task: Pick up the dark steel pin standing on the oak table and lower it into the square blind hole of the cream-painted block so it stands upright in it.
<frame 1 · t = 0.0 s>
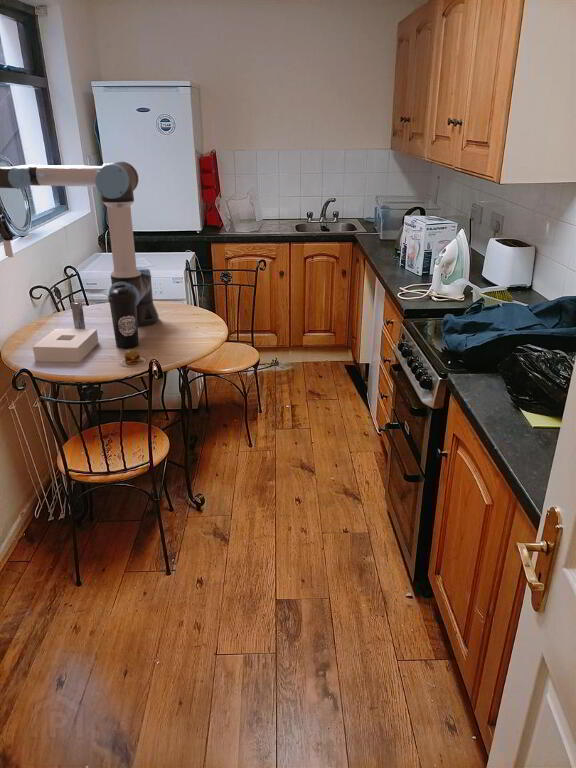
hand: (1, 260, 220), 28 cm above the table, fingers open, 13 cm apart
socket block: (68, 351, 208), on the table
water bottle: (127, 345, 215), on the table
steel pin: (81, 337, 223), on the table
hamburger: (133, 364, 200), on the table
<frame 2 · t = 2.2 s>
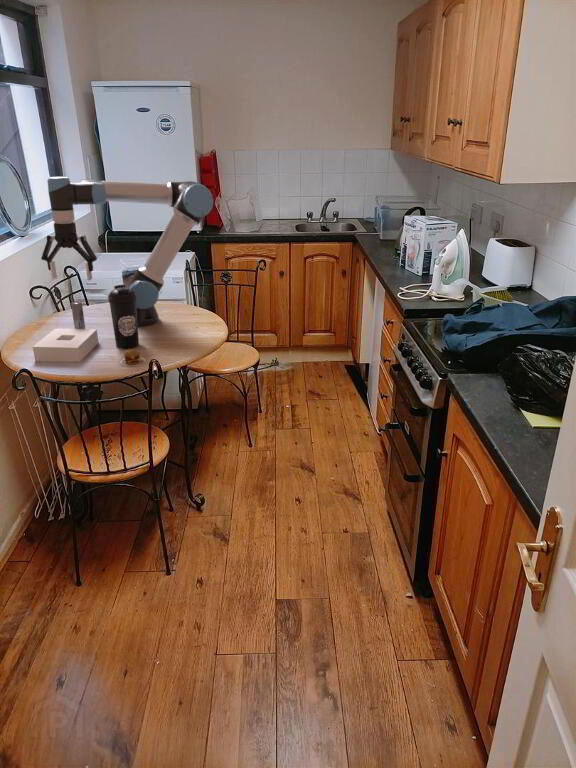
hand: (72, 279, 213), 23 cm above the table, fingers open, 13 cm apart
nothing on the table moved.
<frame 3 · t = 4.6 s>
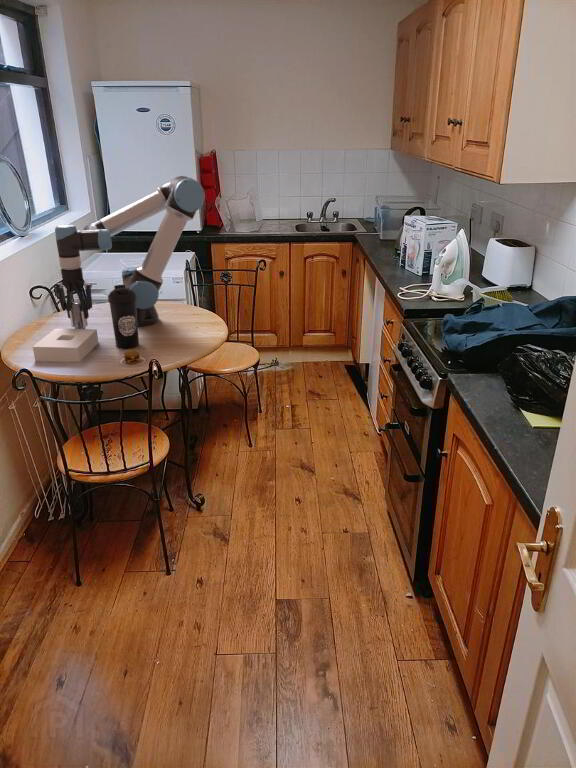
hand: (79, 326, 221), 5 cm above the table, fingers closed on steel pin, 4 cm apart
steel pin: (81, 337, 223), on the table, touching gripper
everything else where it was.
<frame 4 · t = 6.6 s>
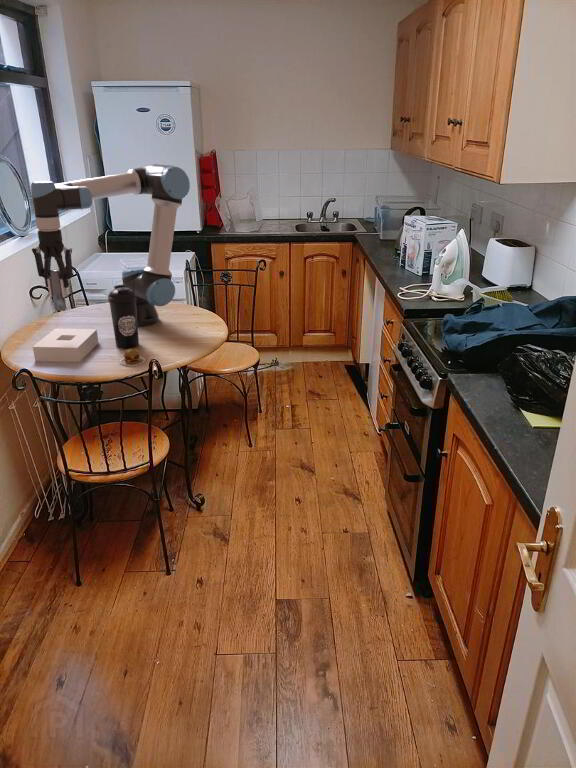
hand: (58, 296, 200), 21 cm above the table, fingers closed on steel pin, 4 cm apart
steel pin: (60, 309, 202), point 16 cm above the table, touching gripper
everything else where it was.
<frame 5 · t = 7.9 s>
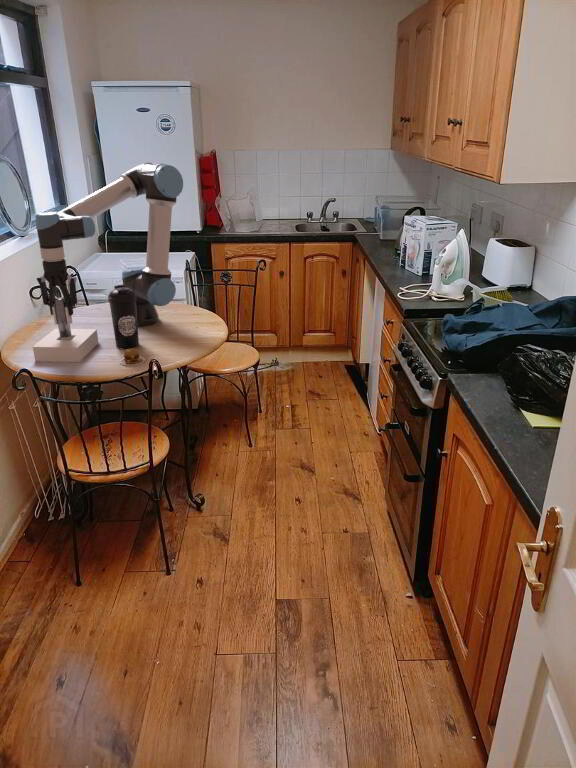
hand: (63, 323, 204), 11 cm above the table, fingers closed on steel pin, 4 cm apart
steel pin: (65, 335, 206), point 6 cm above the table, touching gripper
everything else where it was.
when the fingers open (8 cm above the table, at t = 8.8 s): steel pin stays where it is, resting on socket block.
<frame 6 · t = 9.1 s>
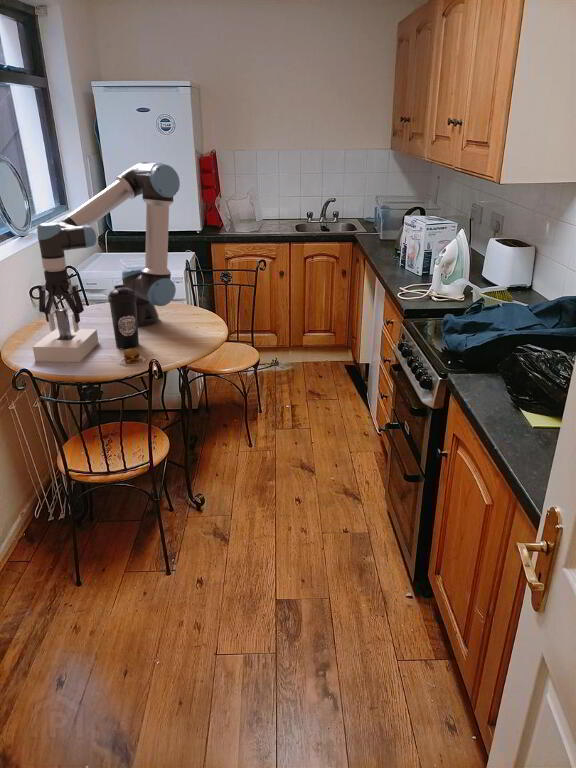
hand: (64, 330, 205), 8 cm above the table, fingers open, 8 cm apart
steel pin: (67, 346, 207), point 2 cm above the table, touching socket block
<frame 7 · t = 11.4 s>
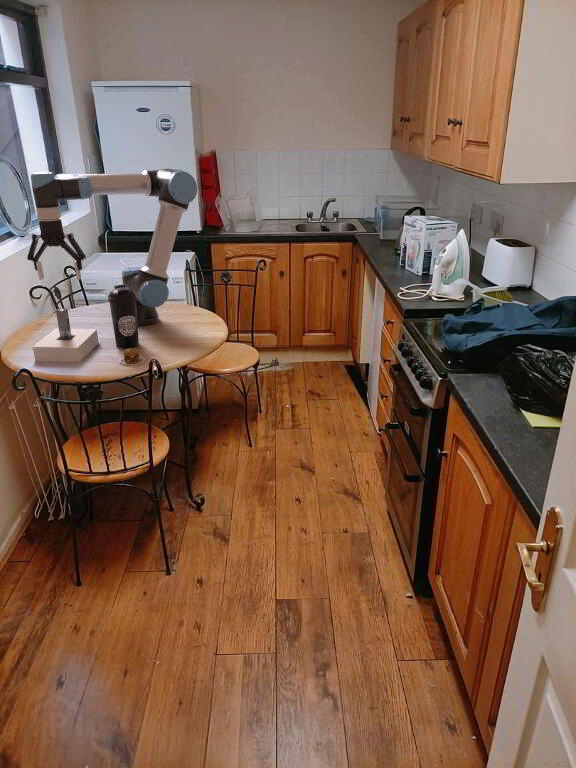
hand: (60, 279, 205), 26 cm above the table, fingers open, 13 cm apart
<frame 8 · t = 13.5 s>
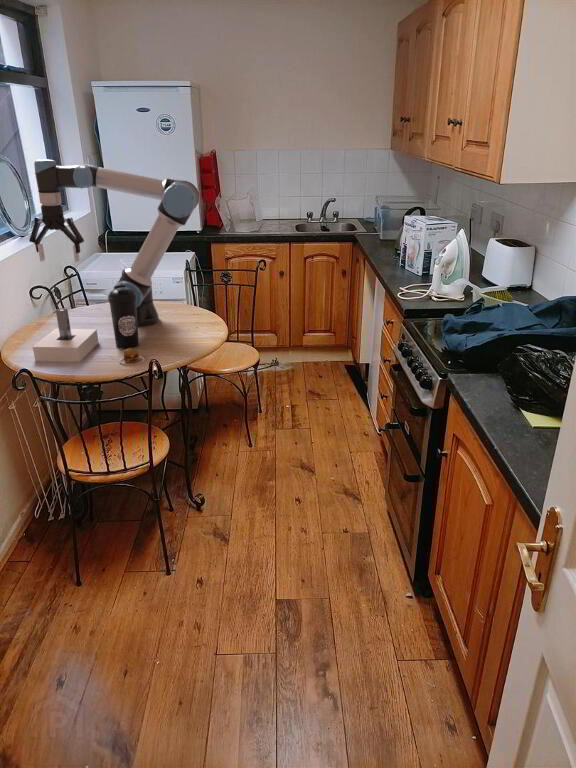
hand: (60, 261, 218), 29 cm above the table, fingers open, 13 cm apart
at the end: steel pin 0.0 cm off-centre on the socket block, point 2.1 cm above the socket block's base; steel pin tilted 0°; the gripper is holding nothing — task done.
